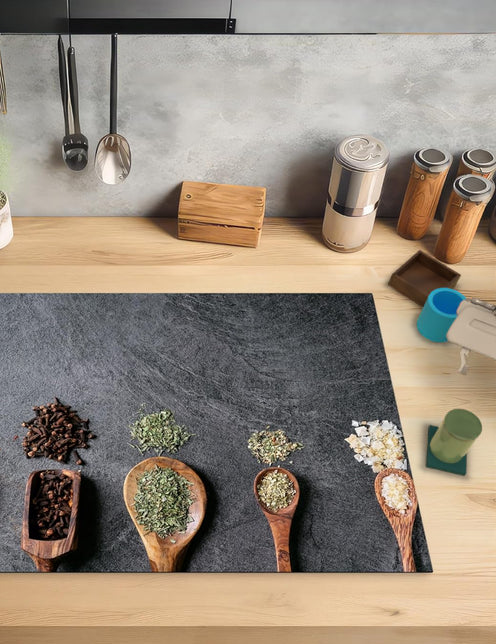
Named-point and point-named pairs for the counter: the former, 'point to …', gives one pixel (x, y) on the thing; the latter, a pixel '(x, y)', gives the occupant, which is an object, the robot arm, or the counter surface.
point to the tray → (422, 277)
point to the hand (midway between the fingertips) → (487, 384)
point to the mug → (439, 314)
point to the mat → (439, 465)
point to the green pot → (455, 435)
